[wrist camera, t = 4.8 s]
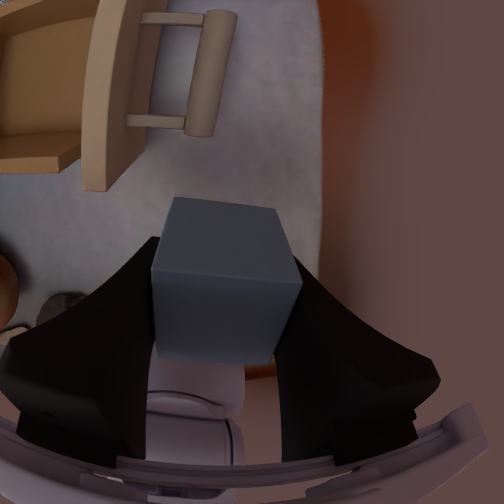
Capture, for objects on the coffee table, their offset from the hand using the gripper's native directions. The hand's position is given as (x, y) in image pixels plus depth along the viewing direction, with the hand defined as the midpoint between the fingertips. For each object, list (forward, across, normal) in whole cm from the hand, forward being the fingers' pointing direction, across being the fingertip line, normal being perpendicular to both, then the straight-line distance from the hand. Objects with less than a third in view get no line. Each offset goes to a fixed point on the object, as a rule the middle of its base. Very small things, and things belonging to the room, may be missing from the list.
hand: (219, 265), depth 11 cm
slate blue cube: (+1, 0, 0) cm, 1 cm away
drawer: (+9, +9, -7) cm, 14 cm away
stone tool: (+9, +29, +26) cm, 40 cm away
